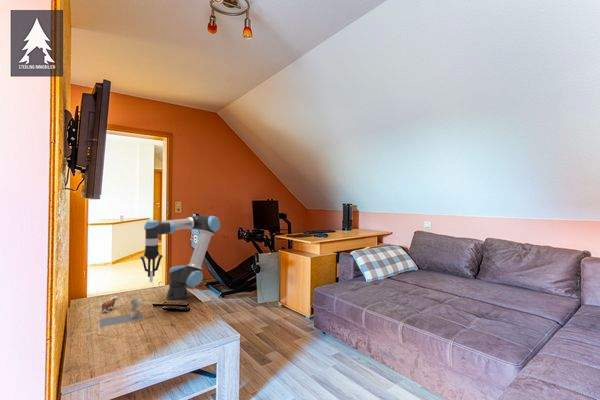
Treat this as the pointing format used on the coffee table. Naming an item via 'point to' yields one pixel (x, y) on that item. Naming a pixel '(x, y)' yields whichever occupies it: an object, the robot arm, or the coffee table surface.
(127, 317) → the felt mat
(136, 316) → the beech block
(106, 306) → the bull figurine
